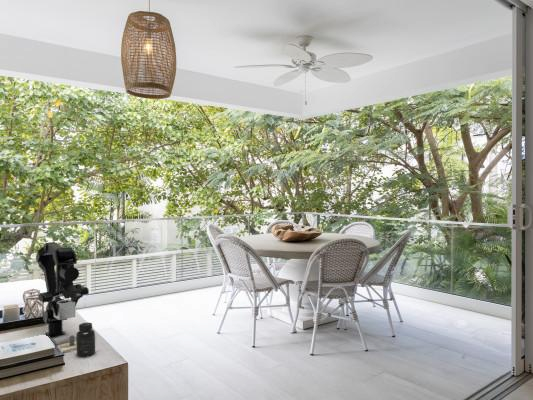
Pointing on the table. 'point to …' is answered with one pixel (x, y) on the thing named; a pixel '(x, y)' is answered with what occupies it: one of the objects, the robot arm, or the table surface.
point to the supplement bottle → (85, 340)
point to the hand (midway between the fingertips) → (64, 313)
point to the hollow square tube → (65, 309)
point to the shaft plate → (69, 345)
